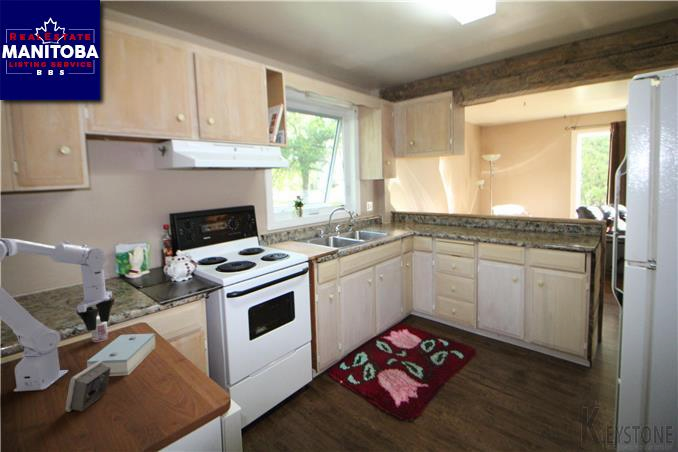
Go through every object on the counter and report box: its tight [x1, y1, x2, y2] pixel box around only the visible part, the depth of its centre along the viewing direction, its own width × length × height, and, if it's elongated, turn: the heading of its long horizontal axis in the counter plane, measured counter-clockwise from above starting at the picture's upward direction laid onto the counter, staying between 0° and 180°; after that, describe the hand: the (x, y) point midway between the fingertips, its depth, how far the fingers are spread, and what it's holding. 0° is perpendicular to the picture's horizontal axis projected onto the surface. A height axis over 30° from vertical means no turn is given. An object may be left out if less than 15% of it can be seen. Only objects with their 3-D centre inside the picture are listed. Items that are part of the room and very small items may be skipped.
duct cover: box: [86, 333, 156, 365], centre depth 108 cm, size 18×11×1 cm, turn 5°
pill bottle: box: [90, 315, 109, 343], centre depth 124 cm, size 5×5×8 cm
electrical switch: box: [65, 360, 111, 413], centre depth 87 cm, size 9×5×9 cm, turn 173°
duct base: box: [86, 335, 157, 377], centre depth 108 cm, size 18×11×4 cm, turn 5°
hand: (98, 325), depth 110 cm, fingers open, 6 cm apart
